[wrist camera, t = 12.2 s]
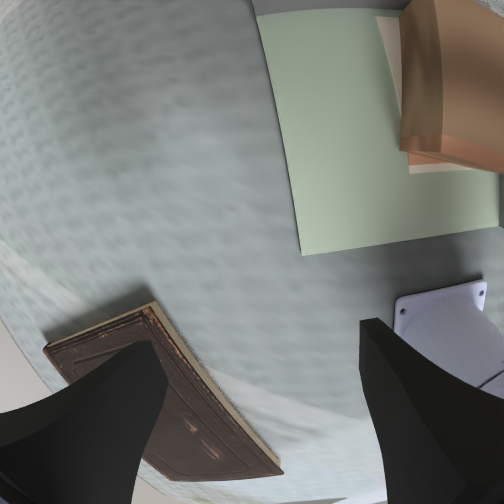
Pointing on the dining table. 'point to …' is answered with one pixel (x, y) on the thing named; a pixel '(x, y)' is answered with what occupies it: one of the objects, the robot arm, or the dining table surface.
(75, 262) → the dining table surface
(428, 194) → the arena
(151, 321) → the hardcover book
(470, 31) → the walnut block
